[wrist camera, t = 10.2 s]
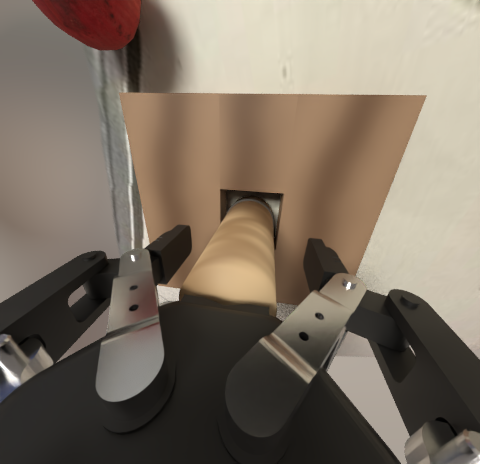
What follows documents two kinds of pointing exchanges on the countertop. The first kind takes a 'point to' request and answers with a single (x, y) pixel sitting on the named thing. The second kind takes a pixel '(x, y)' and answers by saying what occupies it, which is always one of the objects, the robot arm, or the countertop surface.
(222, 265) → the oak peg
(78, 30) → the red egg-shaped piece
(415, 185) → the countertop surface
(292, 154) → the walnut board
